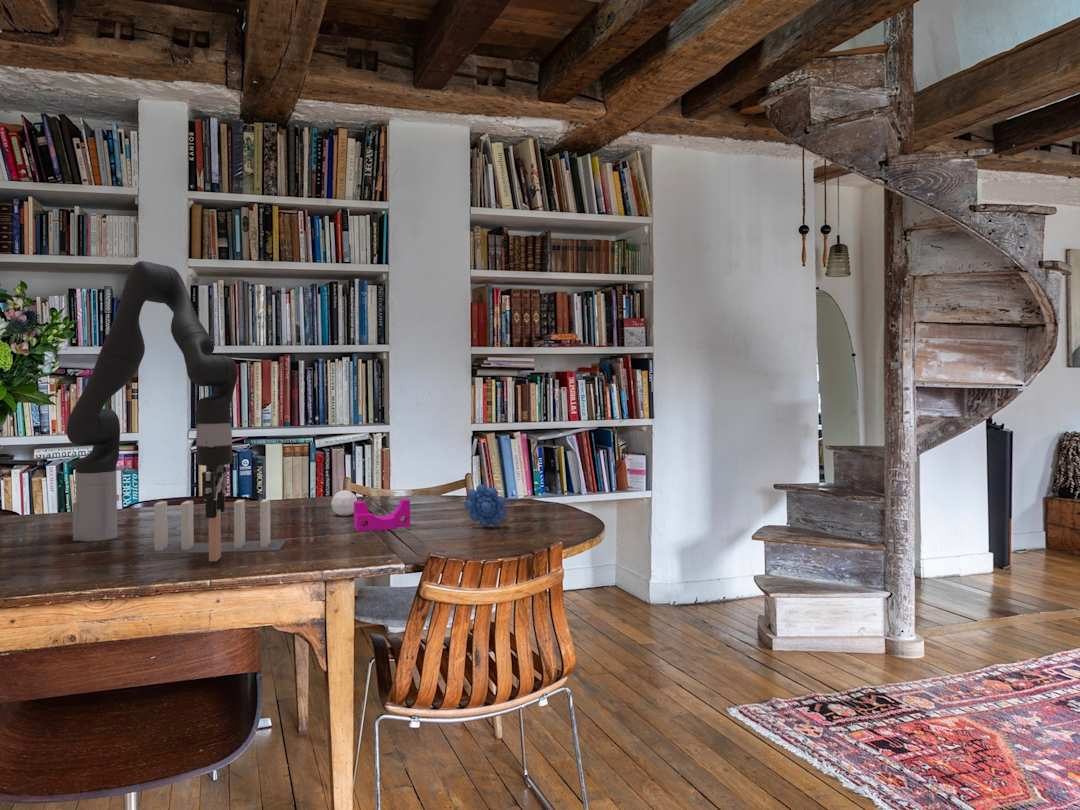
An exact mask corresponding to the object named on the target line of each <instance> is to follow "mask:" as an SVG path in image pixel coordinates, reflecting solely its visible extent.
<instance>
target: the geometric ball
mask: <svg viewBox="0 0 1080 810" xmlns="http://www.w3.org/2000/svg"><path fill="white" fill-rule="evenodd" d="M331 499H332V500H331V501H330V504H331V507H332V511H333V512H334V513H336V515H338V516H341V517H347V516H350V515H353V514H354V501H358V498H357V495H356V494H354V493H353V492H351V491H349V490H346V489H343V490H340V491H338V492H337V493H335V494H334V496H333V497H332V498H331Z"/></svg>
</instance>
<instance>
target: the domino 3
mask: <svg viewBox="0 0 1080 810" xmlns="http://www.w3.org/2000/svg"><path fill="white" fill-rule="evenodd" d="M221 517H222V512H221V509H220V510H217V517H215V518H208V543H209V553H208V562H218V560H219V559H220V558H222V553H221V542H222V518H221Z"/></svg>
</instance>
